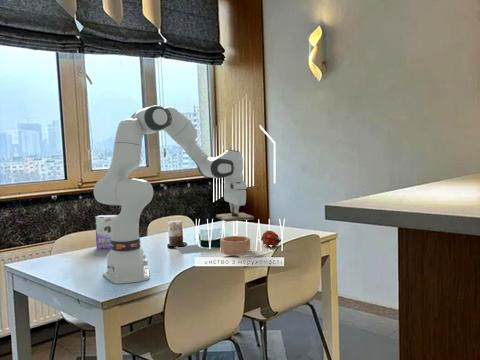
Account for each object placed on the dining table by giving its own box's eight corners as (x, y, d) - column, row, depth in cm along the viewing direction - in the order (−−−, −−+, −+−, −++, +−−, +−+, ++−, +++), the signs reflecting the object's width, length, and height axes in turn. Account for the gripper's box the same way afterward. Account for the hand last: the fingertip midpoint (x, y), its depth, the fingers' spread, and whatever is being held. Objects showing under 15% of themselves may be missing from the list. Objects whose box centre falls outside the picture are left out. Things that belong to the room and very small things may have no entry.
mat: (215, 251, 236) (215, 250, 236) (182, 254, 231) (182, 254, 231) (204, 244, 251) (204, 243, 251) (174, 247, 245) (174, 246, 245)
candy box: (126, 246, 250) (125, 214, 248) (122, 249, 244) (121, 216, 243) (100, 246, 251) (99, 214, 250) (96, 249, 246) (94, 216, 244)
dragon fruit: (264, 246, 251) (278, 254, 242) (254, 239, 247) (267, 246, 237) (273, 232, 253) (287, 240, 243) (263, 224, 248) (277, 232, 238)
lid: (254, 219, 231) (253, 208, 230) (226, 221, 225) (225, 210, 225) (242, 214, 244) (242, 204, 243) (216, 217, 238) (215, 206, 238)
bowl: (253, 252, 232) (253, 240, 232) (226, 255, 227) (226, 243, 227) (243, 246, 245) (243, 235, 244) (217, 249, 240) (217, 237, 239)
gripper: (220, 182, 241) (221, 210, 243) (235, 186, 222) (236, 216, 224) (232, 181, 244) (233, 209, 245) (248, 185, 225) (248, 215, 226)
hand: (234, 212), depth 234 cm, fingers closed on lid, 3 cm apart
